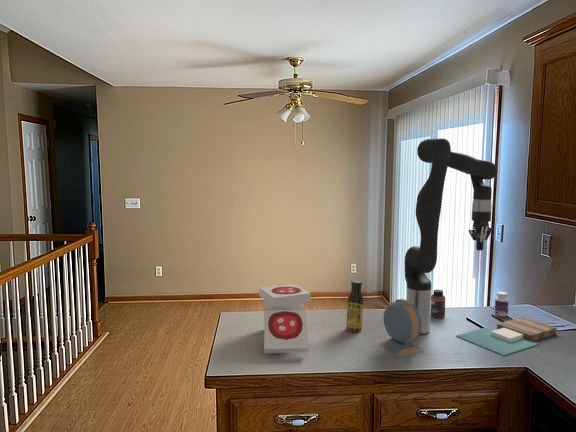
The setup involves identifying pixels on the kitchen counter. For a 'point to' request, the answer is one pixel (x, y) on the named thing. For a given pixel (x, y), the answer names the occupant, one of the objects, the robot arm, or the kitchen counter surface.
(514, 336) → the tile
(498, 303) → the pill bottle
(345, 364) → the kitchen counter surface
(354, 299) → the sauce bottle
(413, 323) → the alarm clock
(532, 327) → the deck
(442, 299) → the supplement bottle
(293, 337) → the pizza boxes
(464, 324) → the kitchen counter surface
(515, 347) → the mat
